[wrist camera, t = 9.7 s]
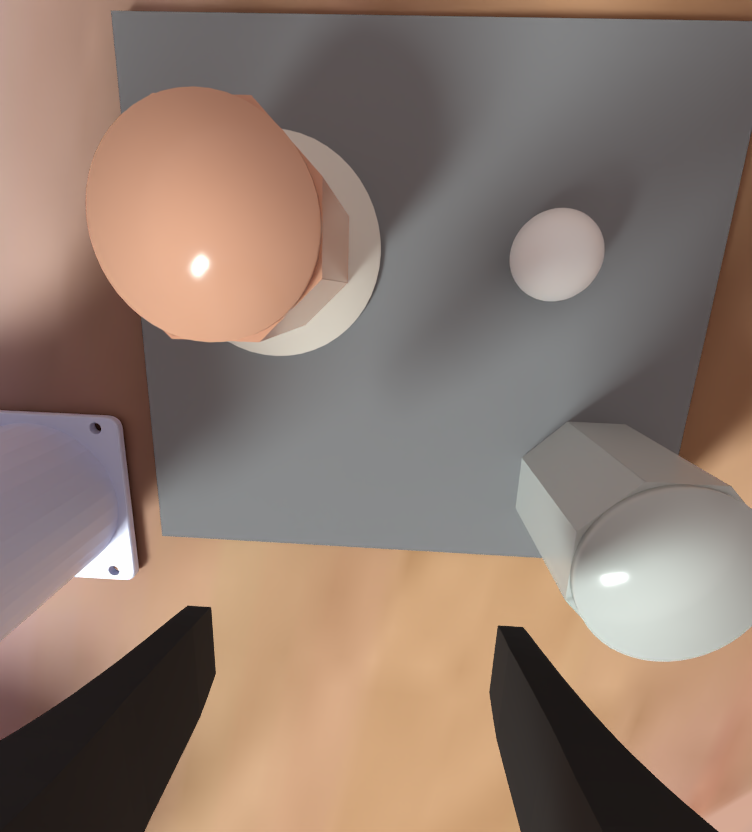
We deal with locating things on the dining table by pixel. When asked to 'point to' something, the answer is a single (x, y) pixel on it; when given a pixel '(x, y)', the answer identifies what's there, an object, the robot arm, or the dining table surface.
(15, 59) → the dining table surface
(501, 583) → the dining table surface
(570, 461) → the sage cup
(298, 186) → the tan piece
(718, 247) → the mat
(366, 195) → the pad
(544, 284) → the marble
